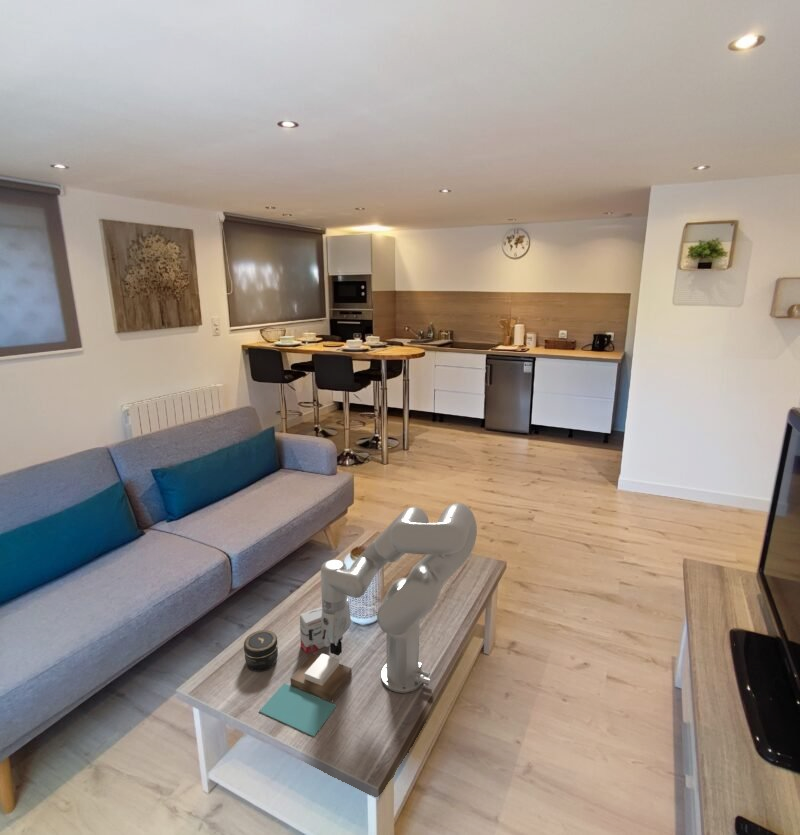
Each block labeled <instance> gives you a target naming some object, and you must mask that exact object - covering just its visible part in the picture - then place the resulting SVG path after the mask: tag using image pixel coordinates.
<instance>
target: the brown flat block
mask: <svg viewBox="0 0 800 835" xmlns="http://www.w3.org/2000/svg"><path fill="white" fill-rule="evenodd" d="M319 656H320V655H317V654H315V653H311V655H309V657H308V658H307V659H306V660H305V661H304V663H302V664H301V666H300V667H299V668H298V669H297V670H296V671H295V672H294V673H293V674H292V676H291V677H290V678H289V679H290V686H292V687H294V688H297V689H299V690H301V691H304V692H306V693H309V694H311V695H313V696H316V697H318V698H321V699H323V700H325V701H328V702H330V703H332V702H333V701H334V699H335V698H336V697H337V695H338V694H339V693H340V691H341V690H342V689H343V688H344V687H345V685H346V683H347V682H348V681H349V679H350V678H351V676H352V674H353V673H352V667H349V666H346V665H344V664H341V663H339V666H338V667H337V668H336V670H335V671H334V672H333V673H332V675H331V676H330V677H329V678H328V680H327V681H326V682H325V683H324V685H323V686H321V685H318V684H316V683H313V682H311V681H308V680H306V679H305V672H306V671H307V670H308V669H309V668H310V667H311V665H312V664H313V663H314V662H315V661H316V660H317V659H318V657H319Z"/></svg>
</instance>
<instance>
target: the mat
mask: <svg viewBox="0 0 800 835" xmlns="http://www.w3.org/2000/svg"><path fill="white" fill-rule="evenodd" d="M336 708H337V704H334V703H332V702H330V701H327V700H325V699H323V698H320V697H318V696H315V695H313V694H311V693H308V692H306V691H303V690H301V689H299V688H296V687H294V686H291V685H289V684H286V683H282V685H281V686H280V687H279V688H278V690H276V692H274V693H273V695H272V696H271V697H270V698H269V700H267V701H266V703H265V704H263V706H262V707H261V708H260V709H259V710H258V712H259V713H261V714H263V715H265V716H268V717H270V718H272V719H274V720H276V721H278V722H280V723H282V724H285V725H286V726H289V727H292V728H293V729H296V730H298V731H300V732H302V733H304V734H307V735H309V736H311V737H312V738H315V736H316V735H317V734H318V732H319V731H320V729H322V727H323V726H324V724H325V722H326V721H327V720H328V718H329V717H330V716H331V714H333V712H334V710H335V709H336Z"/></svg>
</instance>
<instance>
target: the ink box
mask: <svg viewBox="0 0 800 835" xmlns="http://www.w3.org/2000/svg"><path fill="white" fill-rule="evenodd" d="M322 609H323V608H322V605H321V606H320V607H316V608H314V609H311V610H308V611H306V612H303V613H301V614H300V615H299V630H300V632H299V633H300V634H299V635H300V647H301V648H302V650H303V651H304V653H305V654H306V655H308V654H312V653H313V652H315V651H318V650H320V649H323V648H325V647H326V646H324V640H325V639H322V637H321V616H322ZM326 648H327V647H326Z"/></svg>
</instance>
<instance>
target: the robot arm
mask: <svg viewBox="0 0 800 835" xmlns="http://www.w3.org/2000/svg"><path fill="white" fill-rule="evenodd" d="M477 532H478V528H477V521H476V517H475V516H474V513H473V511H472V510H471V508H470V507H469V506H468V505H466V504H464V503H460V502H459V503H458V502H457V503H453V504H450V505H448V506H447V507H446V508H445V509H444V510H443V511H442V513H441V514H440V516H439V517H438V520H437V521H436V522H429V517H428V515H427V513H426V512H425V511H424V510H423V509H422V508H420V507H416V506H410V507H408V508H406V509H404V510H403V511H402V512H400V513H399V514H398V516H396V518H395V519H393V520H392V521H391V523H390V524H389V525H388V526H387V527H386V528H385V529H384V530H383V531H382V532H381V533H380V534H379V535H378V536H377V537H376V538H375V539H374V540H373V541H372V542H371V544H369V545H368V546H367V547H366V548H365V549H364V550H363V552H361V554H360V555H359V556H358V557H357V558H356V559H355V560H354V562H353V563H352V564H351V566H350V567H349V568H348V569H347V565H346V563H345V562H344V561H343V560H340V559H335V558H334V559H330V560H327V561H325V562H323V563H322V565H321V567H320V584H321V585H320V586H321V587H320V588H321V590H320V591H321V606H322V608H323V609H322V616H321V637H322V639H325V640H324V646H326V648H329V651H330V654H333V655H335V656H338V657H339V656H340V654H342V652H343V649H342V648H343V645H342V644H343V643H342V641H343V635H344V634H345V633H347V631H348V630H349V629H350V627H351V626H352V625H351V621H352V620H351V608H350V602H349V600H348V597H350V598H354V599H357V598H361V597H362V596H364V595H365V593H366V592H367V590H368V588H369V587H370V585H371V583H372V582H373V580H374V579H375V577H376V575H377V574H378V573H379V572H380V571H381V570H382V569H383V567H384V566H385V565H386V564H388V562H389V563H396V562H398V561H399V560H400V559H401V558H402V557H403V556H404V555H405V554H408V555H409V554H410V555H425V556H424V557H423V558H422V559H420V560H419V561H418V562H417V563H416V564H414V565H413V567H412V568H411V570H410V571H409V573H408V575H407V577H401V578H398V579H396V580H395V581H394V582H393V583H392V584H390V586H389V588H388V590H387V591H386V594H384V598H383V600H382V602H381V604H380V606H379V608H378V611H377V615H376V616H377V617H376V621H377V623H378V625H379V628H380V629H381V630H382V632H384V633H386V664H385V665H384V666H383V668H382V670H381V675H380V676H381V677H380V678H381V682H382V683H383V685H384V686H385V688H387V689H388V690H390V691H393V692H395V693H401V694H405V693H406V694H407V693H411V692H413V691H415V690H417V689H418V688H419V687H420V686H422V685H425V686H429V687H430V685H431V682H432V678H430V675H431V672H430V671H426V670H424V668H423V666H422V665H423V663H422V662H420V660H419V659H420V657H419V656H420V655H419V654H420V625H421V624H420V622H421V620H423V618H425V617H426V616H427V615H428V614H429V613H430V612H431V611H432V609H433V608H434V607H435V605H436V604H437V602H438V600H439V597H440V594H441V592H442V589H443V586H444V585H445V583H446V582H447V581H448V580H449V579H450V578H451V577H452V576H454V574H455V573H456V572H457V571H458V570H459V569H460V568H461V567H462V566H463V565H464V564H465V563H466V562H467V560H468V559H469V557H470V555H471V554H472V551H473V550H474V547H475V544H476V540H477V534H478V533H477Z"/></svg>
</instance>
